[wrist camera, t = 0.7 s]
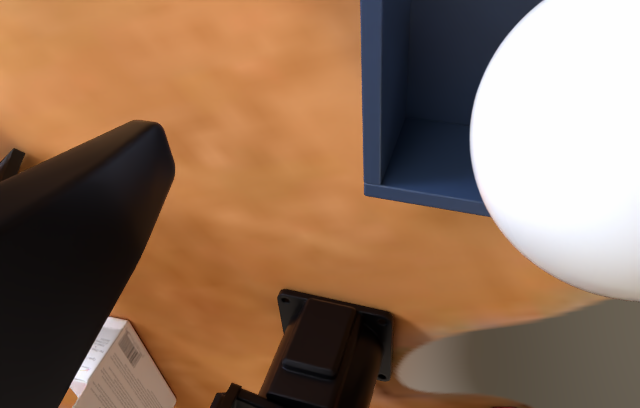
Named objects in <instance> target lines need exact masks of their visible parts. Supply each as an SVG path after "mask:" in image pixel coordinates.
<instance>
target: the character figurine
mask: <svg viewBox="0 0 640 408" xmlns="http://www.w3.org/2000/svg"><path fill="white" fill-rule="evenodd" d="M24 155H25V153H24V152H22V151H19V150H17V149H15V148H14V149H13V150H12V151H11V152H10V153H9V154H8V155H7V156H6V157H5V158H4V159H3V160H2V161H1V162H0V182H1V181H3V180H6V179H8V178H10V177H12V176H14V175H16V174H18V171H19V168H20V166H21V163H22V160H23V158H24Z"/></svg>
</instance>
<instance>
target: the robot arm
mask: <svg viewBox="0 0 640 408" xmlns="http://www.w3.org/2000/svg"><path fill="white" fill-rule="evenodd" d="M174 176H175V163H174V160H173V156H172V153H171V150H170V147H169V144H168V141H167V137H166V134H165V131H164V129H163V127H162V126H161V125H160V124H158V123H156V122H151V121H143V120H133V121H130V122H128V123H126V124H124V125H122V126H119V127H117V128H115V129H113V130H111V131H109V132H107V133H104V134H102V135H100V136H98V137H96V138H94V139H91V140H89V141H87V142H85V143H83V144H81V145H79V146H76V147H74V148H72V149H70V150H68V151H66V152H64V153H61V154H59V155H57V156H55V157H53V158H51V159H48V160H46V161H44V162H42V163H40V164H38V165H36V166H33V167H31V168H29V169H27V170H25V171H23V172H21V173H18V174H16V175H14V176H12V177H10V178H8V179H6V180H3V181H1V182H0V408H58V407H59V405H60V403H61V401H62V399H63V398H64V396H65V394H66V392H67V390H68V389H69V387H70V385H71V383H72V381H73V380H74V378H75V376H76V374H77V372H78V371H79V369H80V367H81V365H82V363H83V361H84V360H85V358H86V356H87V354H88V352H89V351H90V349H91V347H92V345H93V343H94V342H95V340H96V338H97V336H98V334H99V333H100V331H101V329H102V327H103V325H104V324H105V322H106V320H107V318H108V316H109V315H110V313H111V311H112V309H113V307H114V306H115V304H116V302H117V300H118V298H119V296H120V295H121V293H122V291H123V289H124V287H125V286H126V284H127V282H128V280H129V278H130V277H131V275H132V273H133V271H134V269H135V267H136V265H137V263H138V262H139V260H140V258H141V255H142V253H143V251H144V249H145V247H146V244H147V242H148V240H149V237H150V235H151V233H152V230H153V228H154V225H155V223H156V221H157V218H158V216H159V213H160V211H161V209H162V206H163V204H164V201H165V199H166V197H167V194H168V192H169V189H170V187H171V185H172V182H173V180H174ZM277 300H278V305H279V310H280V316H281V321H282V327H283V332H284V335H283V338H282V340H281V342H280V345H279V347H278V349H277V352H276V354H275V357H274V359H273V361H272V364H271V366H270V368H269V371H268V373H267V375H266V378H265V380H264V383H263V385H262V387H261V390H260V392H259V394H258V395H257V394H254V393H252V392H249V391H247V390H244V389H242V388H241V387H242V386H239V385H237V384H234V383H231V385H230V387H229V389H228V391H227V392H226V393H217V394H216V396H215V398H214V400H213V402H212V404H211V406H210V408H369V406H370V402H371V398H372V395H373V391H374V388H375V384H376V380H380V381H389V380H390V378H391V374H392V354H393V325H394V318H393V316H392V314H390V313H389V312H387V311H383V310H379V309H374V308H369V307H365V306H360V305H356V304H351V303H347V302H342V301H338V300H333V299H329V298H324V297H319V296H315V295H310V294H306V293H301V292H297V291H292V290H288V289H283V290H281V291H280V292H279V295H278V297H277Z"/></svg>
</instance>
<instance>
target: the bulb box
mask: <svg viewBox="0 0 640 408" xmlns="http://www.w3.org/2000/svg"><path fill="white" fill-rule="evenodd" d="M541 1H543V0H360V12H361V64H362V116H363V169H364V195H365V196H370V197H376V198H381V199H387V200H393V201H399V202H405V203H411V204H417V205H423V206H429V207H435V208H440V209H446V210H452V211H458V212H464V213H470V214H476V215H482V216H488V217H491V216H490V214H489V212H488V210H487V208H486V207H485V205H484V202H483V200H482V198H481V195H480V193H479V190H478V187H477V184H476V181H475V177H474V173H473V169H472V163H471V156H470V142H469V134H470V121H471V113H472V108H473V104H474V100H475V96H476V93H477V90H478V87H479V84H480V81H481V79H482V76H483V74H484V72H485V70H486V68H487V66H488V64H489V62H490V60H491V58H492V57H493V55H494V53H495V52H496V50H497V49H498V47H499V45H500V44H501V43H502V41H503V40H504V39H505V37H506V36H507V35H508V33H509V32H510V31H511V30H512V29H513V28H514V26H515V25H516V24H517V23H518V22H519V21H520V20H521V19H522V18H523V17H524V16H525V15H526V14H527V13H528V12H529V11H530V10H532V9H533V8H534V7H535V6H536V5H538V4H539V3H540V2H541Z"/></svg>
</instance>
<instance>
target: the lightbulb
mask: <svg viewBox="0 0 640 408" xmlns="http://www.w3.org/2000/svg"><path fill="white" fill-rule="evenodd" d="M469 142H470V156H471V163H472V169H473V173H474V177H475V181H476V184H477V187H478V190H479V193H480V195H481V198H482V200H483V202H484V205H485V207H486V208H487V210H488V212H489V214H490V216H491V217H492V219H493V221H494V222H495V224H496V225H497V227H498V228H499V229H500V231H501V232H502V233H503V235H504V236H505V237H506V238H507V239H508V241H509V242H510V243H511V244H512V245H513V246H514V247H515V248H516V249H517V250H518V251H519V252H520V253H521V254H522V255H524V256H525V257H526V258H527V259H528V260H529V261H531V262H532V263H533V264H535V265H536V266H537V267H539V268H540V269H542V270H543V271H545V272H547V273H548V274H550V275H552V276H553V277H555V278H557V279H559V280H561V281H563V282H565V283H567V284H569V285H571V286H574V287H576V288H579V289H581V290H584V291H587V292H590V293H593V294H597V295H600V296H605V297H609V298H614V299H619V300H626V301H636V302H640V0H543V1H541V2H540V3H539V4H538V5H536V6H535V7H534V8H533V9H532V10H530V11H529V12H528V13H527V14H526V15H525V16H524V17H523V18H522V19H521V20H520V21H519V22H518V23H517V24H516V25H515V26H514V28H513V29H512V30H511V31H510V32H509V33H508V35H507V36H506V37H505V39H504V40H503V41H502V43H501V44H500V45H499V47H498V49H497V50H496V52H495V53H494V55H493V57H492V58H491V60H490V62H489V64H488V66H487V68H486V70H485V72H484V74H483V76H482V79H481V81H480V84H479V87H478V90H477V93H476V96H475V100H474V104H473V108H472V113H471V121H470V134H469Z"/></svg>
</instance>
